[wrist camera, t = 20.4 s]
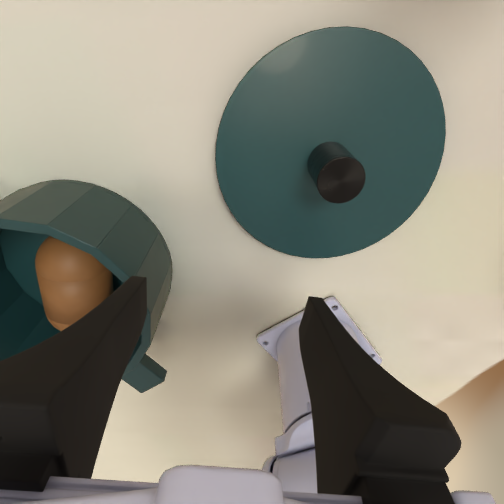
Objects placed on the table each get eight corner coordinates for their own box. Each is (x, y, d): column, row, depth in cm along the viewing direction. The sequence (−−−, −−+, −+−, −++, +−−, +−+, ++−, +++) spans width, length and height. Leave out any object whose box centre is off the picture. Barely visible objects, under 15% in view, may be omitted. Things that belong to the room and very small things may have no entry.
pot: (37, 102, 20) (-46, 120, 15) (227, 298, 28) (220, 359, 22) (-74, 219, 24) (-172, 268, 19) (119, 362, 32) (90, 427, 26)
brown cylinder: (118, 305, 28) (112, 346, 24) (57, 307, 27) (41, 351, 23) (112, 218, 24) (104, 251, 20) (40, 215, 23) (17, 250, 19)
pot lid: (377, -40, 17) (417, -70, 13) (468, 180, 23) (515, 208, 18) (171, 133, 21) (151, 151, 17) (292, 281, 27) (299, 321, 23)
